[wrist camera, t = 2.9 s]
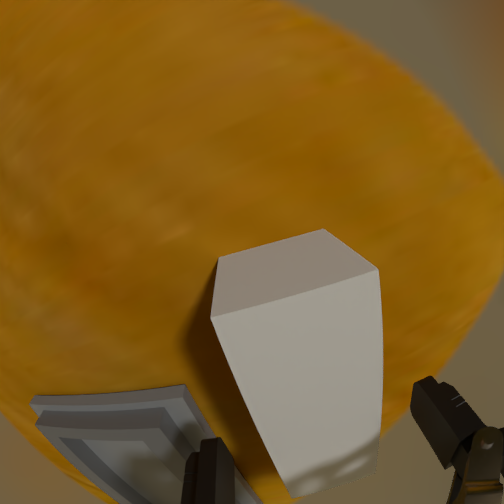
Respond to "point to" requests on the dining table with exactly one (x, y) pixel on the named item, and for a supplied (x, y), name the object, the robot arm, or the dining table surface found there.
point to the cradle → (131, 441)
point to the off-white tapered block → (306, 355)
